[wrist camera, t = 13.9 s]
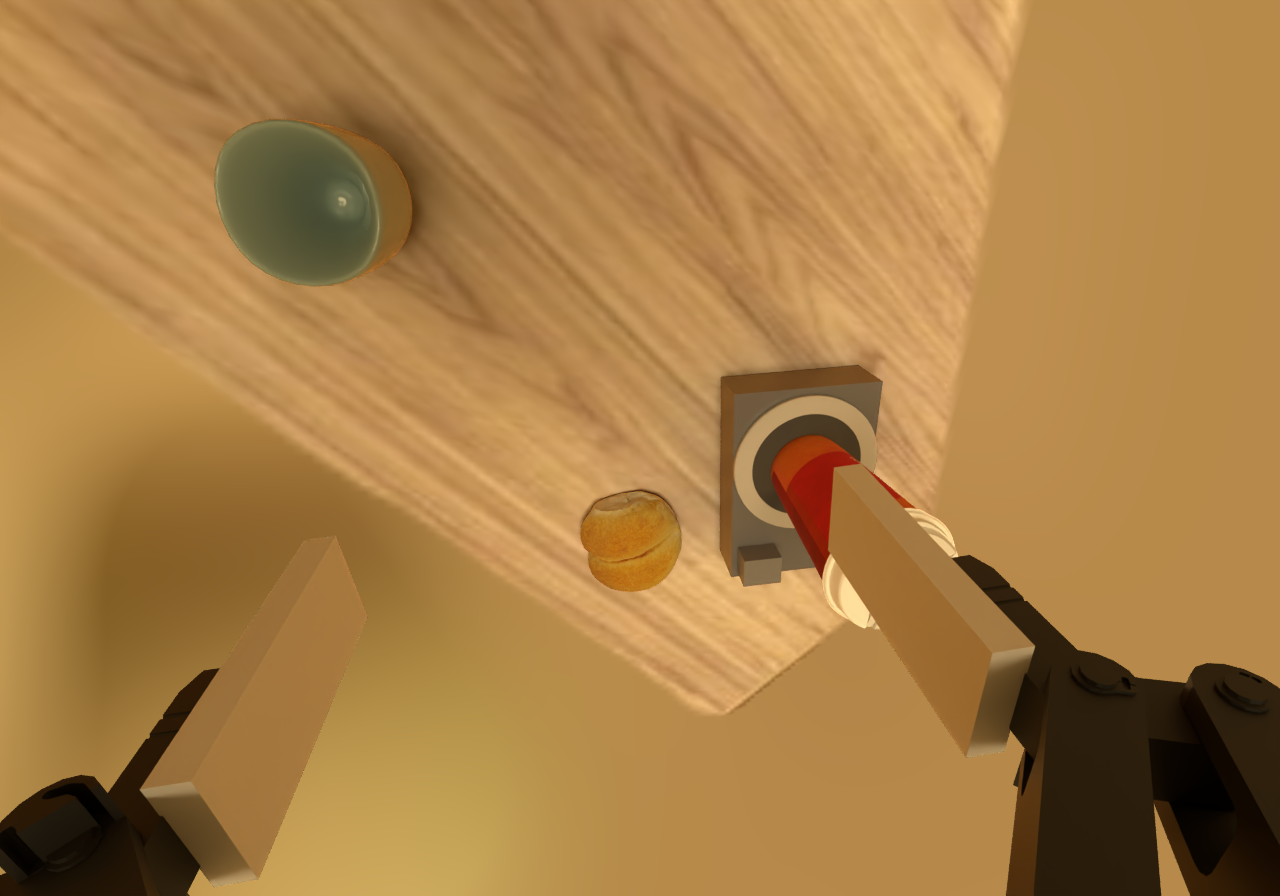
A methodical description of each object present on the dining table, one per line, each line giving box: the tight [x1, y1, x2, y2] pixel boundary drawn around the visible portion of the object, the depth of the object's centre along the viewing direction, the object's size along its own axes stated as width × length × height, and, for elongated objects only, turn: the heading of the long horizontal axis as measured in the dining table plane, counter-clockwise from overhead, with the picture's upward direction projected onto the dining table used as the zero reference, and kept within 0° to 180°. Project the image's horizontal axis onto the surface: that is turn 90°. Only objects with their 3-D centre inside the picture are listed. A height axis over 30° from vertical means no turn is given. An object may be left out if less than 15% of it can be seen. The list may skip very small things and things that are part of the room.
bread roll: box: [581, 491, 682, 592], centre depth 49 cm, size 8×9×4 cm
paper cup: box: [771, 435, 958, 629], centre depth 38 cm, size 8×8×14 cm
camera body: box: [720, 365, 883, 587], centre depth 47 cm, size 16×11×6 cm
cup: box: [214, 119, 412, 287], centre depth 34 cm, size 8×8×10 cm
